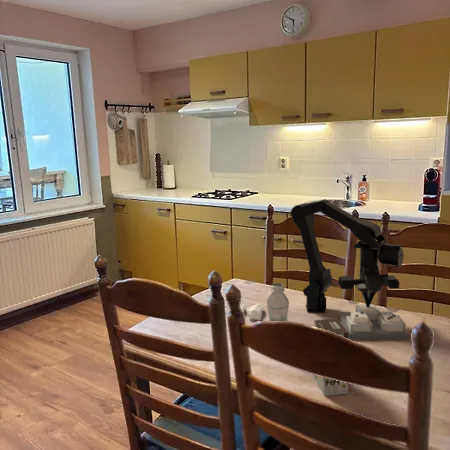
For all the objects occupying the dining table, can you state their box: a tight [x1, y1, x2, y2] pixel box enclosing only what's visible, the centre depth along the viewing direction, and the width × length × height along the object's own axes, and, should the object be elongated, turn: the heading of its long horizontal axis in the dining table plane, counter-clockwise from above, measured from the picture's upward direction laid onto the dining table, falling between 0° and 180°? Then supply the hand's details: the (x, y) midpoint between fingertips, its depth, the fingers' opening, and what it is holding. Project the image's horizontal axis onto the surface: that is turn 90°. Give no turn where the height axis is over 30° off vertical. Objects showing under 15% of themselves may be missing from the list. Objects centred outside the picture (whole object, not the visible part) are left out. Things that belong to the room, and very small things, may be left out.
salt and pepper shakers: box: [227, 301, 264, 321], centre depth 157 cm, size 12×4×11 cm
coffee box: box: [313, 318, 349, 397], centre depth 109 cm, size 9×6×16 cm
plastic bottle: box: [266, 282, 290, 322], centre depth 129 cm, size 6×7×20 cm
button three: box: [382, 314, 401, 323], centre depth 137 cm, size 4×4×3 cm
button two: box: [350, 311, 368, 323], centre depth 138 cm, size 4×4×3 cm
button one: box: [359, 303, 376, 312], centre depth 146 cm, size 4×4×3 cm
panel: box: [338, 304, 410, 340], centre depth 142 cm, size 18×17×4 cm
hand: (367, 306), depth 146 cm, fingers closed, pressing on button one
